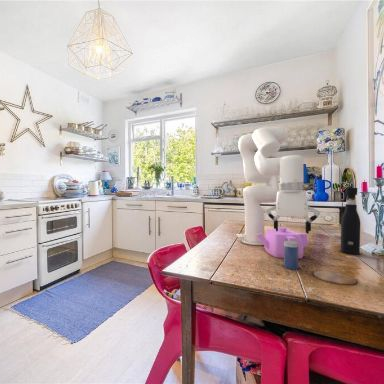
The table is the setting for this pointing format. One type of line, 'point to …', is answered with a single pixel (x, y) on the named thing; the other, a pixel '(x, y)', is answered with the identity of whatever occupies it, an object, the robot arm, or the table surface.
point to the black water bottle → (350, 225)
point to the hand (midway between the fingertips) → (291, 231)
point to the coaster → (334, 277)
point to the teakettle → (282, 241)
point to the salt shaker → (291, 254)
